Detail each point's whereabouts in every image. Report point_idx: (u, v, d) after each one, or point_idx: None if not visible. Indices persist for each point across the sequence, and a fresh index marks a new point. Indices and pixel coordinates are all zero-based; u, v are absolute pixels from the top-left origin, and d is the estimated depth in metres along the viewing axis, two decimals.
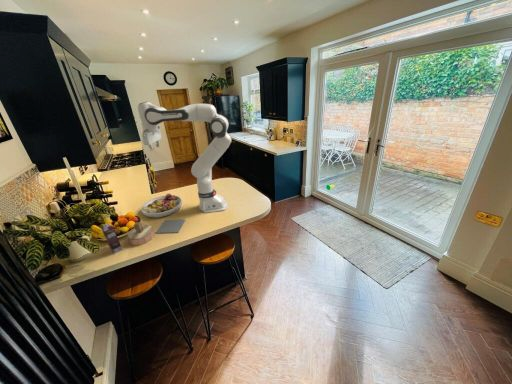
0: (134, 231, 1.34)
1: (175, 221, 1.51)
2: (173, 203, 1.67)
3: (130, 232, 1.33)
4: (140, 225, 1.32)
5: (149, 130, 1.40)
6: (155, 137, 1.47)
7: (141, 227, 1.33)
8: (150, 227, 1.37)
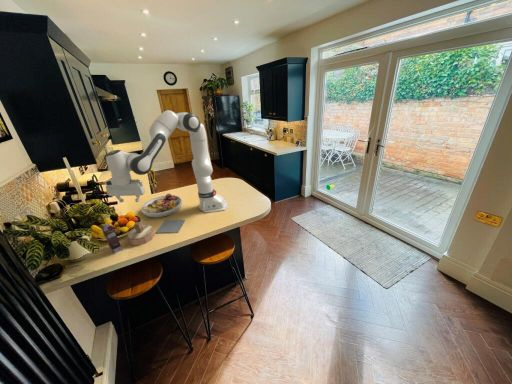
0: (134, 231, 1.34)
1: (175, 221, 1.51)
2: (173, 203, 1.67)
3: (130, 232, 1.33)
4: (140, 225, 1.32)
5: (131, 180, 1.20)
6: None
7: (141, 227, 1.33)
8: (150, 227, 1.37)
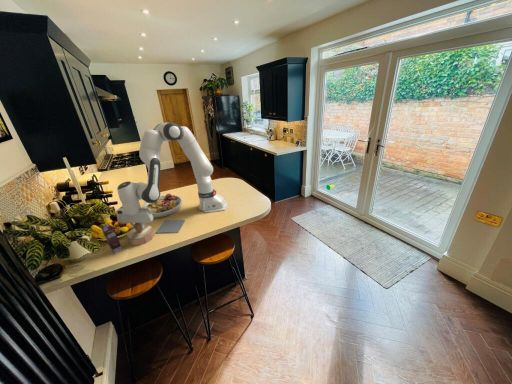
0: (134, 231, 1.34)
1: (175, 221, 1.51)
2: (173, 203, 1.67)
3: (130, 232, 1.33)
4: (140, 225, 1.32)
5: None
6: None
7: None
8: (150, 227, 1.37)
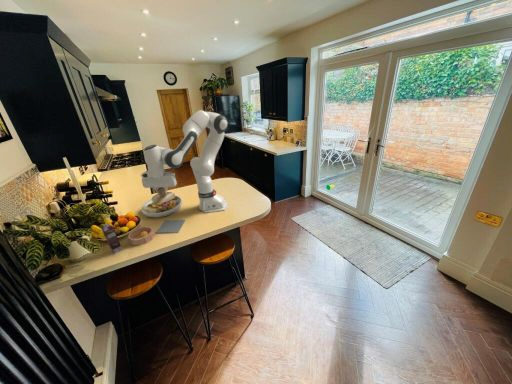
0: (157, 196, 1.37)
1: (175, 221, 1.51)
2: (173, 203, 1.67)
3: (153, 197, 1.36)
4: (163, 190, 1.35)
5: None
6: None
7: None
8: (172, 193, 1.40)
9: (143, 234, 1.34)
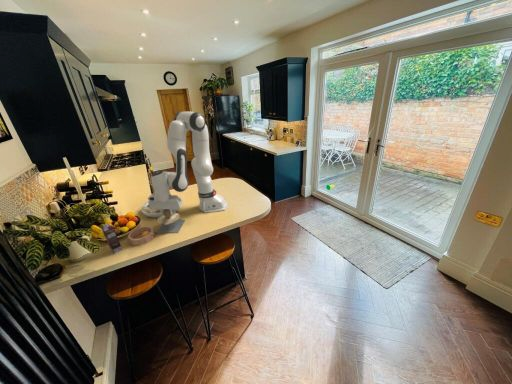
0: (163, 217, 1.43)
1: None
2: None
3: (159, 218, 1.42)
4: None
5: None
6: None
7: None
8: (177, 214, 1.47)
9: (146, 234, 1.34)
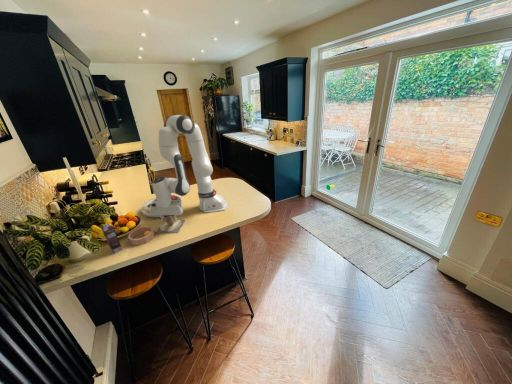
0: (165, 224, 1.46)
1: None
2: None
3: (162, 225, 1.45)
4: (171, 219, 1.44)
5: None
6: None
7: (172, 221, 1.45)
8: (179, 221, 1.49)
9: None
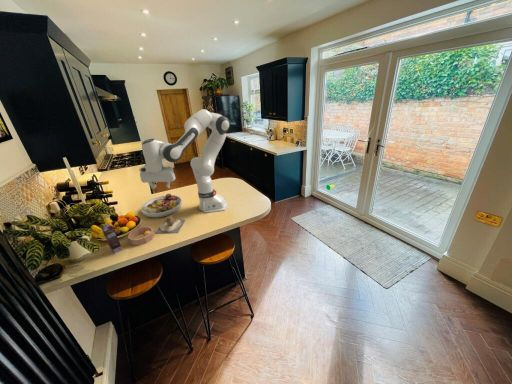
0: (165, 224, 1.46)
1: None
2: (173, 203, 1.67)
3: (162, 225, 1.45)
4: (171, 219, 1.44)
5: (163, 167, 1.29)
6: None
7: (172, 221, 1.45)
8: (179, 221, 1.49)
9: None
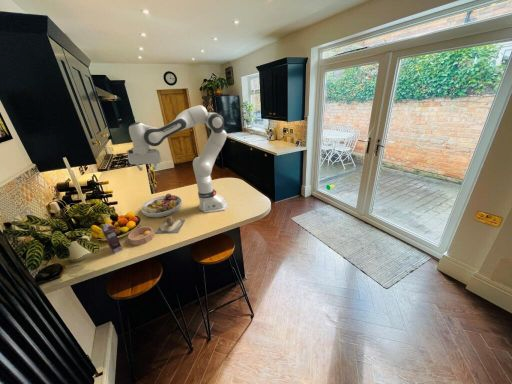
0: (165, 224, 1.46)
1: None
2: (173, 203, 1.67)
3: (162, 225, 1.45)
4: (171, 219, 1.44)
5: None
6: None
7: (172, 221, 1.45)
8: (179, 221, 1.49)
9: None
